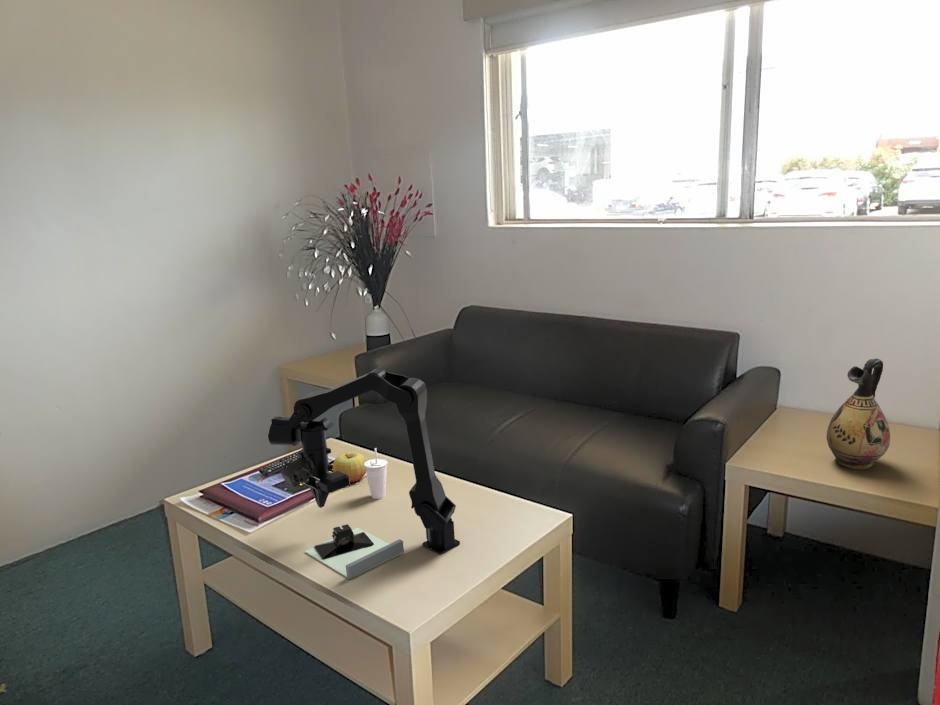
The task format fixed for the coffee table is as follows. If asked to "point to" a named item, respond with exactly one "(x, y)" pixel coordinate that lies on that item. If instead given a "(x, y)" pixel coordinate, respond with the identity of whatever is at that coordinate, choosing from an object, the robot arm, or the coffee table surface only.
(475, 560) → the coffee table surface
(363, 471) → the apple
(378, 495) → the smoothie
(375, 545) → the base plate
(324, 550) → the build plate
